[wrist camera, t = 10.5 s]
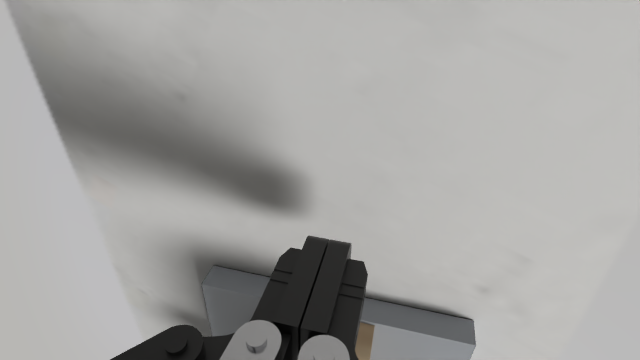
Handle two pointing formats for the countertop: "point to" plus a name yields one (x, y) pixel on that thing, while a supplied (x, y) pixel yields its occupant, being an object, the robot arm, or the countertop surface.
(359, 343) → the beech block
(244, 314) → the guide board
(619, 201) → the countertop surface
